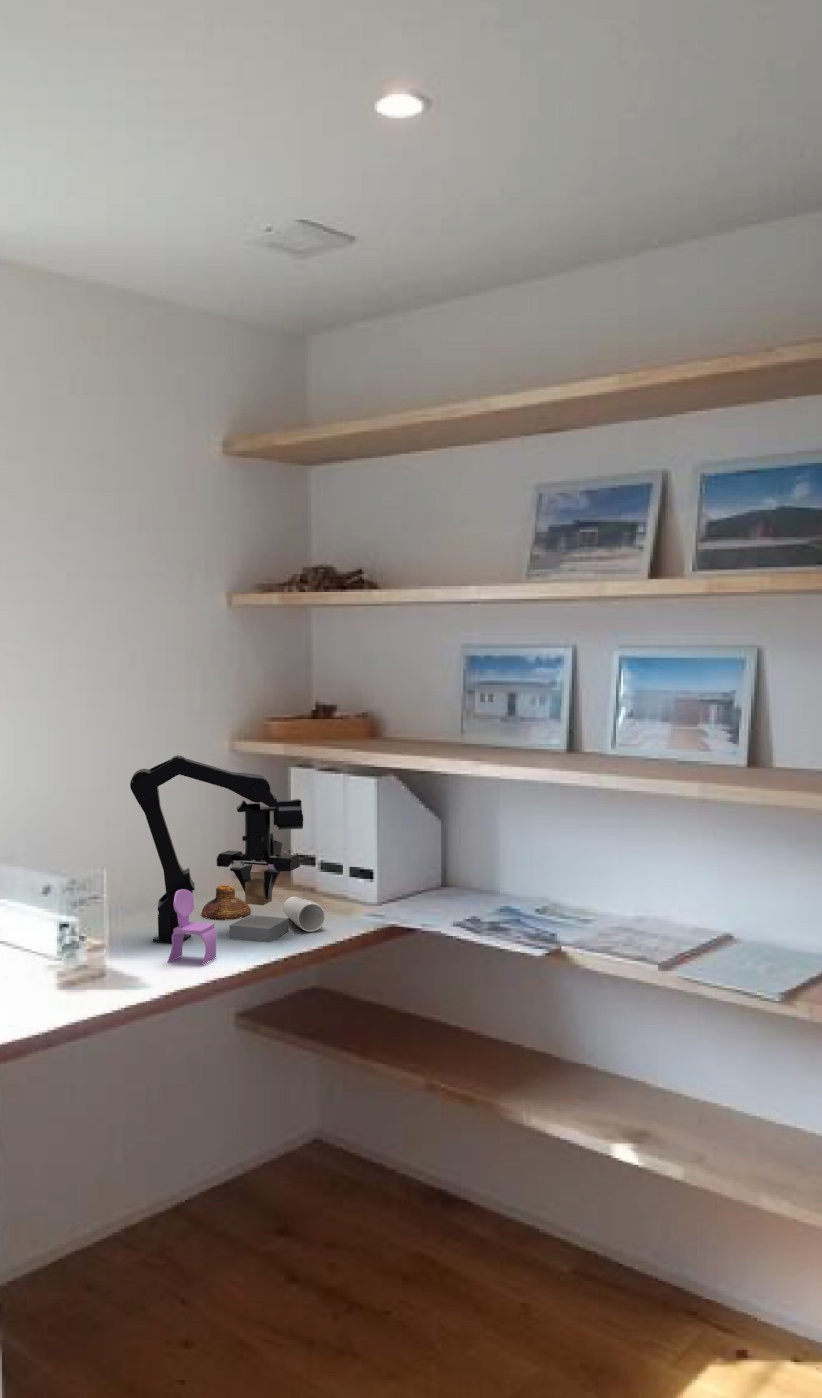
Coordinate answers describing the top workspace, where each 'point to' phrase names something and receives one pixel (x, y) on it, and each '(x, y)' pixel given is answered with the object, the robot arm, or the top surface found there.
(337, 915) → the top surface
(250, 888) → the walnut block
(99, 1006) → the top surface
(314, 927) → the white hollow cylinder
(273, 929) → the base
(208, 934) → the toy chair
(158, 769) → the robot arm
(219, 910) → the bell
